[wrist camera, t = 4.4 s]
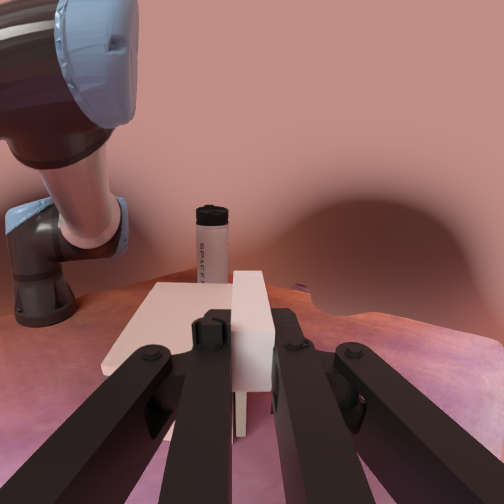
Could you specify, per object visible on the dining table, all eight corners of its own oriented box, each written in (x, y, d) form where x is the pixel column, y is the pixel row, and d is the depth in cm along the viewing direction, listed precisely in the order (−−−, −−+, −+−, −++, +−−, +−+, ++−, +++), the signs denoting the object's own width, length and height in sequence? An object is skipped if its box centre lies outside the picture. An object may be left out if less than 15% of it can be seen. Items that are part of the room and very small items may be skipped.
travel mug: (223, 295, 65) (223, 204, 60) (232, 308, 59) (232, 207, 54) (195, 298, 63) (193, 205, 58) (201, 311, 57) (199, 208, 52)
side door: (245, 436, 27) (248, 279, 22) (236, 436, 27) (235, 279, 22) (243, 375, 37) (245, 244, 33) (236, 375, 37) (236, 244, 33)
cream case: (232, 444, 26) (231, 375, 24) (124, 434, 26) (100, 364, 23) (234, 340, 47) (234, 283, 45) (163, 337, 47) (157, 282, 44)
